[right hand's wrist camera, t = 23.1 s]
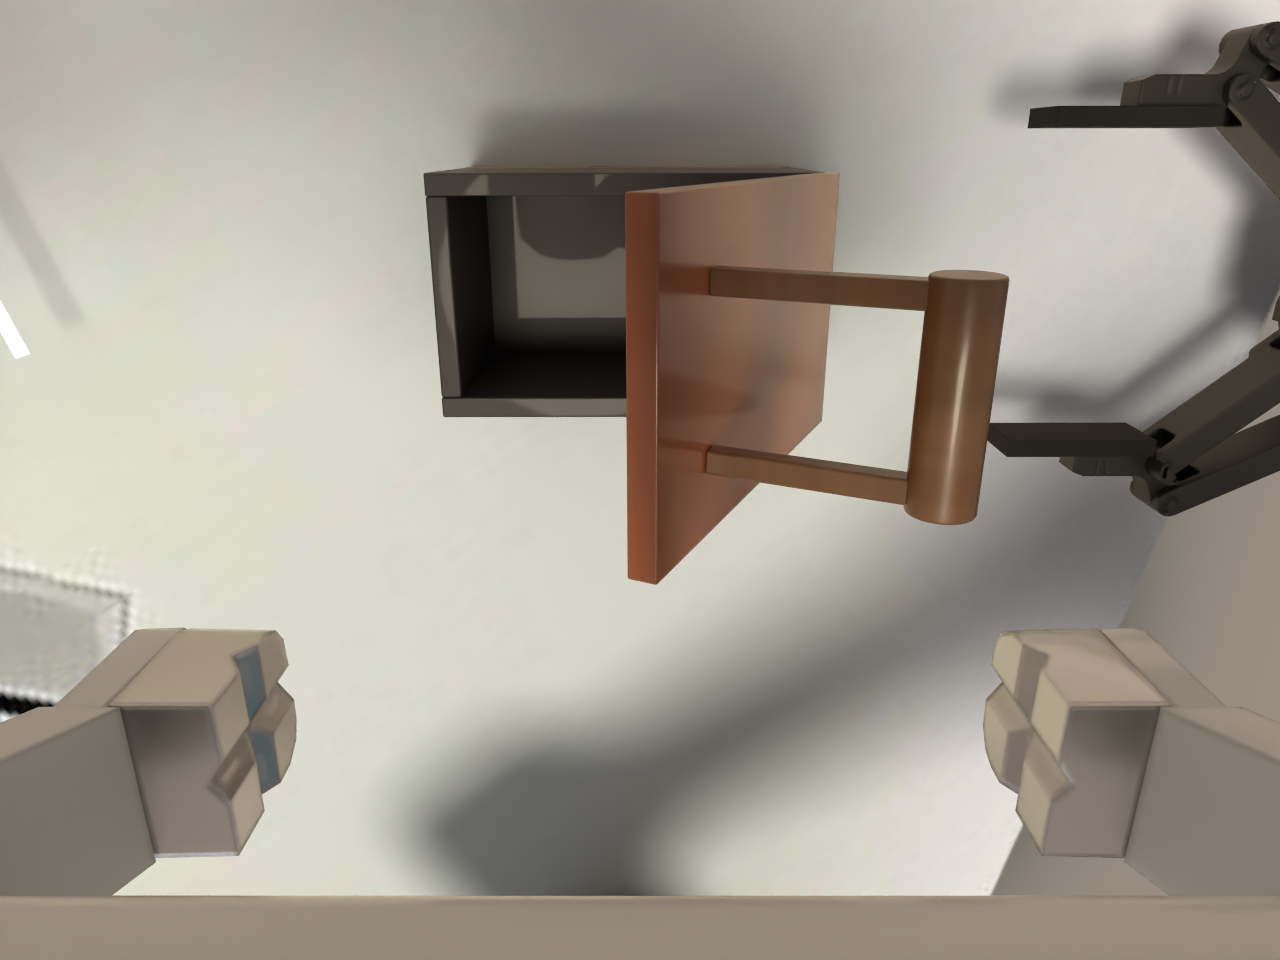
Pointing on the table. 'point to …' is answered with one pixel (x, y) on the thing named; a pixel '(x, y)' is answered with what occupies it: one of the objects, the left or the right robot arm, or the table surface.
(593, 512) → the table surface
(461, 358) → the chest
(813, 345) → the lid
